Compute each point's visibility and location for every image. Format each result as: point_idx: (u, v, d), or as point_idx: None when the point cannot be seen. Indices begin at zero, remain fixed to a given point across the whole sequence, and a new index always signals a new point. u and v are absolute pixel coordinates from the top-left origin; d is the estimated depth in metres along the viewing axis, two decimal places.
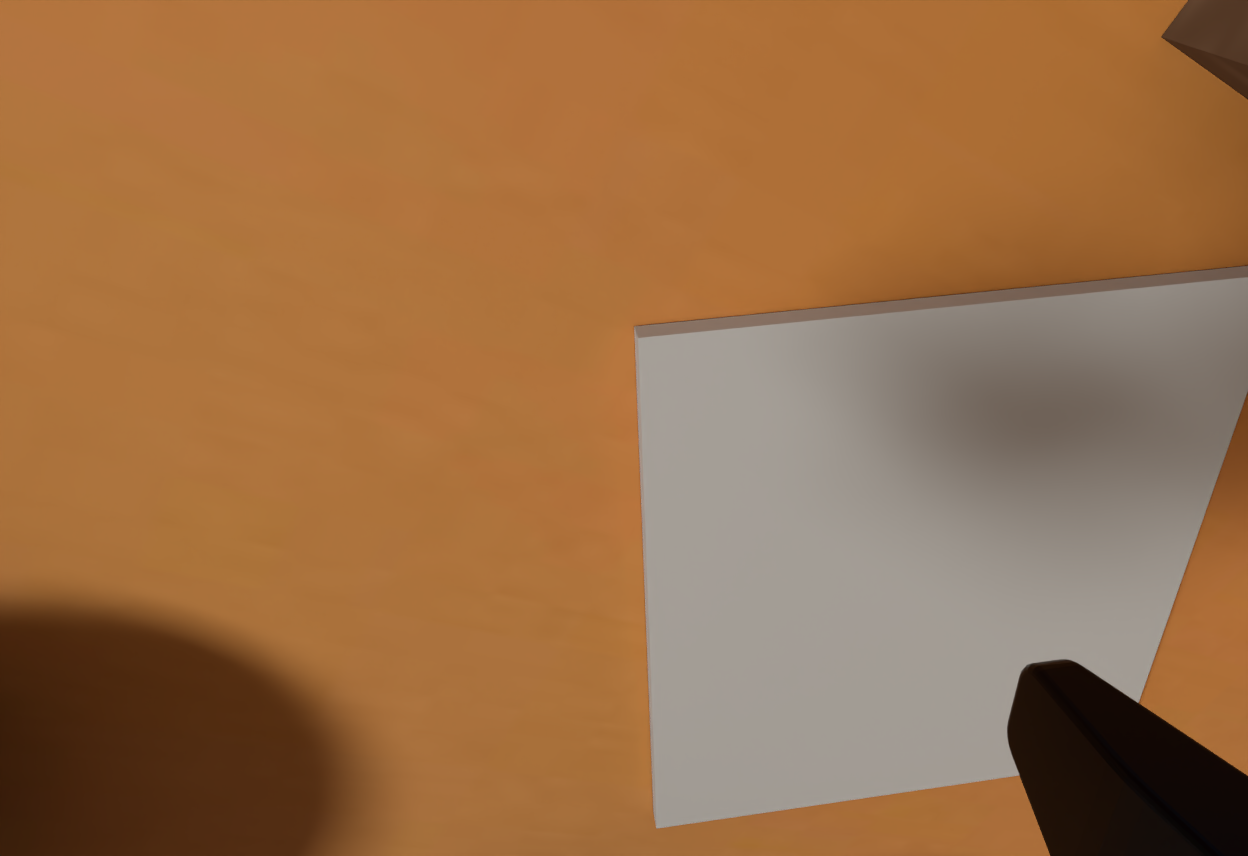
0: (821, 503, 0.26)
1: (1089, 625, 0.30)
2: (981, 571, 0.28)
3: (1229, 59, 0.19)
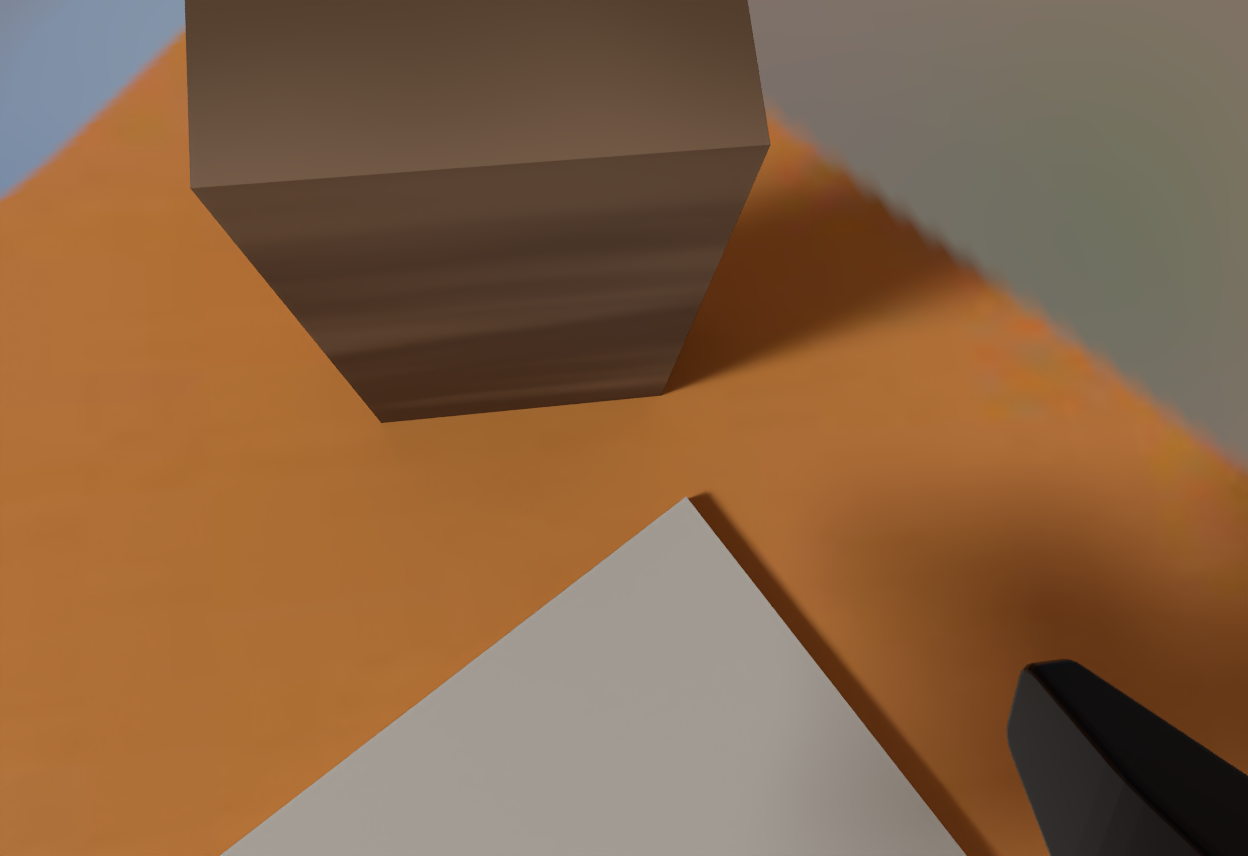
0: None
1: None
2: None
3: (364, 399, 0.20)
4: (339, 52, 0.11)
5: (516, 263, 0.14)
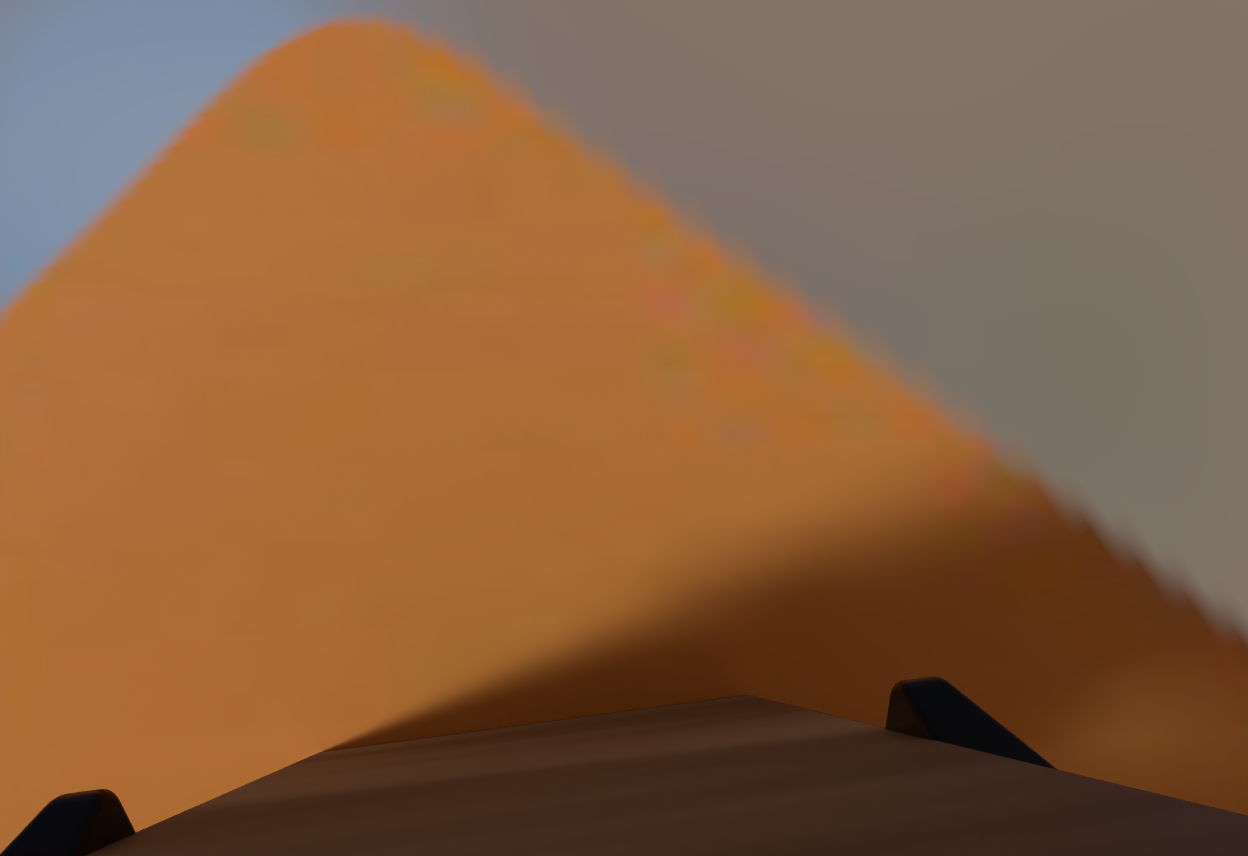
0: None
1: None
2: None
3: None
4: None
5: None
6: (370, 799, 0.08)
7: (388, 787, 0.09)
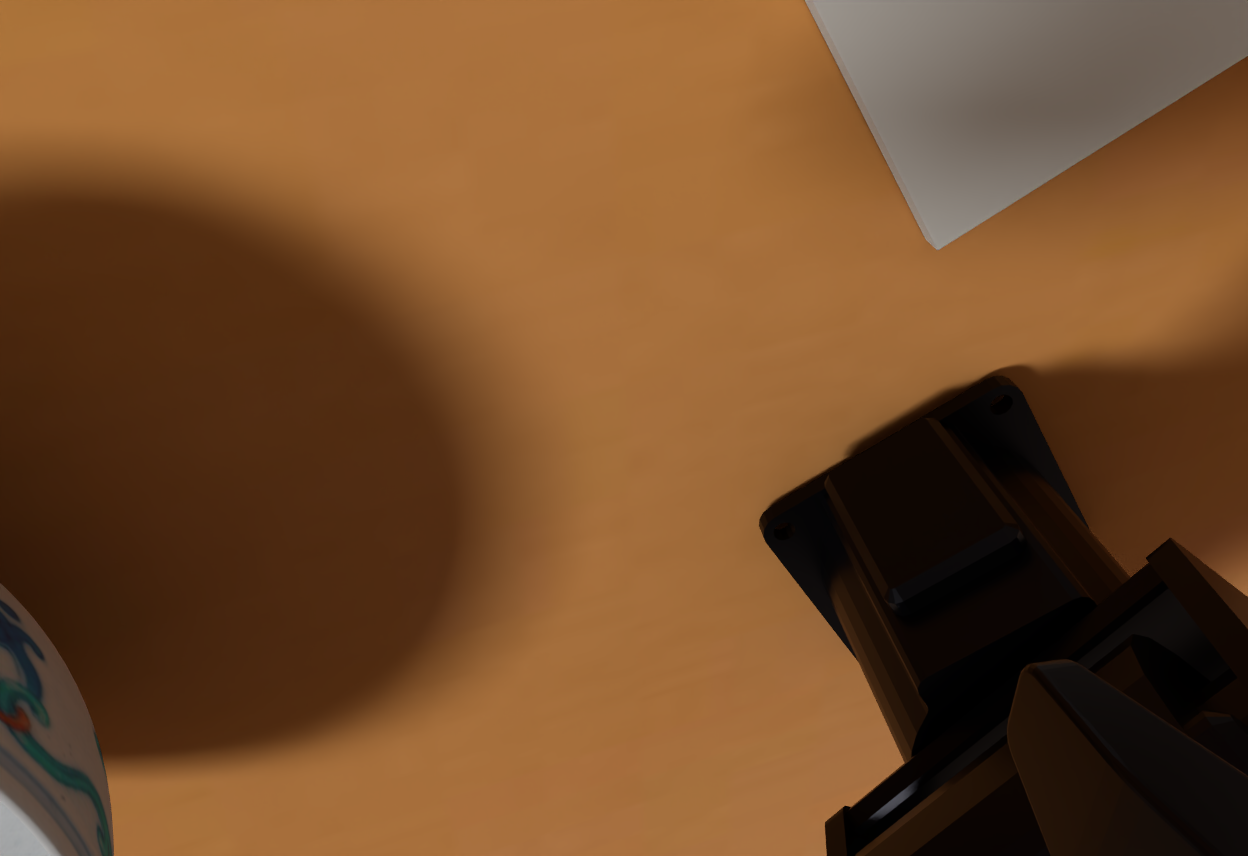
0: None
1: None
2: None
3: None
4: None
5: None
6: None
7: None
